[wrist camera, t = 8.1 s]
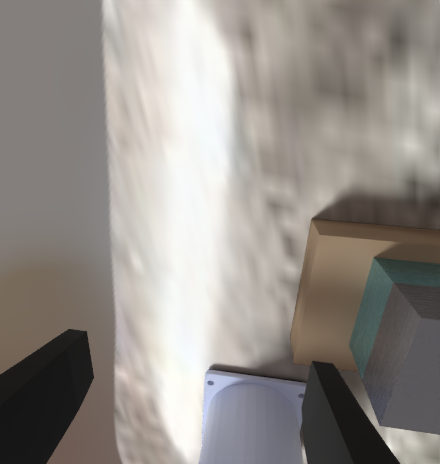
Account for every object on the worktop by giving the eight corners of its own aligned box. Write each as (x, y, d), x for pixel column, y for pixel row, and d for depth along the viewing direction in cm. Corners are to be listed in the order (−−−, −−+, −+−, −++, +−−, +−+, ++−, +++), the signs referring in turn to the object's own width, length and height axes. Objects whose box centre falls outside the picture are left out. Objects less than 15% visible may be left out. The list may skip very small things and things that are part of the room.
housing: (418, 353, 18) (474, 439, 13) (348, 345, 18) (379, 425, 13) (453, 265, 15) (538, 331, 11) (373, 257, 16) (421, 317, 11)
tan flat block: (437, 354, 20) (460, 385, 18) (290, 336, 21) (293, 363, 19) (489, 234, 17) (526, 254, 15) (311, 218, 18) (319, 234, 16)
